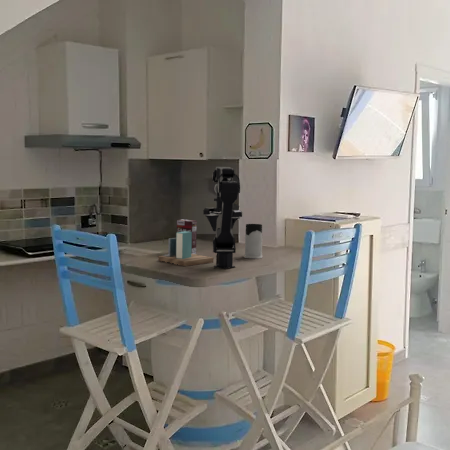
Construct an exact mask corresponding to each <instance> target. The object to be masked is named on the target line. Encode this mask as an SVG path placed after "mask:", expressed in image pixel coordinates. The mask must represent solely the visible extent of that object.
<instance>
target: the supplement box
mask: <svg viewBox="0 0 450 450" xmlns="http://www.w3.org/2000/svg"><path fill="white" fill-rule="evenodd" d="M197 227H198V221H197V220H191V219H177V220H176V233H177V232H184V231H187V232H192V246H191V254H196V255H197V235H198V234H197Z"/></svg>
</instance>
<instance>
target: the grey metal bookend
mask: <svg viewBox="0 0 450 450" xmlns="http://www.w3.org/2000/svg"><path fill="white" fill-rule="evenodd" d="M167 241H168V247H167V248H168V250H167V251H168V253H167V254H162V256H166V257H176V237H170V238H168V240H167Z"/></svg>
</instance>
